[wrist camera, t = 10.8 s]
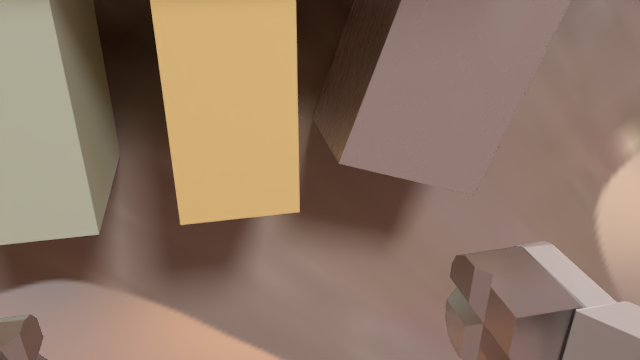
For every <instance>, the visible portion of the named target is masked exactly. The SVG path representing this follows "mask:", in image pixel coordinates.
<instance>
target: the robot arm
mask: <svg viewBox="0 0 640 360" xmlns="http://www.w3.org/2000/svg"><path fill="white" fill-rule="evenodd" d="M450 278H451V279H452V281H453V282H454V283H455V285H456V286H457V288H456V289H455V290H454V291H453V292H452V294H451V295H450V296H449V297H448V299H447V302H446V312H445V319H446V325H447V331H448V335H449V338H450V340H451V343H452V345H453V347H454V349H455V350H456V352H457V354H458V355H459V357H460V358H461V359H463V360H640V306H637V305H634V304H632V303H630V302H627V301H624V302H618V303H617V302H616V301H615V300H614V299H612V298H611V297H610V296H609V295H608V294H607V293H606V292H605V291H604V290H602V289H601V288H600V287H599V286H598V285H597V284H596V283H595V282H594V281H593V280H591V279H590V278H589V277H588V276H587V275H586V274H585V273H584V272H583V271H581V270H580V269H579V268H578V267H577V266H576V265H575V264H574V263H573V262H571V261H570V260H569V259H568V258H567V257H566V256H565V255H564V254H563V253H561V252H560V251H559V250H558V249H557V248H556V247H555V246H554V245H553V244H550V243H547V242H545V241H540V242H534V243H528V244H522V245H516V246H514V247H510V248H503V249H496V250H489V251H482V252H476V253H469V254H462V255H456V257H455V259H454V261H453V263H452V266H451V273H450ZM42 340H43V335H42V332H41V329H40V326H39V323H38V320H37V318H35V317H34V316H32V315H31V314H30V315H22V316H13V317H5V318H0V360H47V359H46V358H44V357H43V356H41V355H39V350H40V347H41V343H42Z"/></svg>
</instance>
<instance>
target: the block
mask: <svg viewBox="0 0 640 360" xmlns="http://www.w3.org/2000/svg"><path fill="white" fill-rule="evenodd" d="M570 1H571V0H354V1H353V4H352V7H351V10H350V13H349V16H348V18H347V21H346V24H345V27H344V30H343V33H342V36H341V38H340V41H339V44H338V47H337V50H336V53H335V56H334V58H333V61H332V64H331V67H330V70H329V73H328V76H327V78H326V81H325V84H324V87H323V90H322V93H321V96H320V98H319V101H318V104H317V107H316V110H315V113H314V116H313V120H314V122H315V123H316V125H317V127H318V129H319V130H320V132H321V134H322V136H323V137H324V139H325V141H326V142H327V144H328V146H329V148H330V149H331V151H332V153H333V155H334V156H335V158H336V160H337V162H338V163H339V164H342V165H346V166H351V167H355V168H359V169H363V170H368V171H372V172H376V173H380V174H385V175H389V176H393V177H397V178H402V179H406V180H410V181H414V182H418V183H423V184H427V185H431V186H435V187H440V188H444V189H448V190H452V191H457V192H461V193H465V194H469V195H474V194H475V192H476V190H477V188H478V186H479V184H480V182H481V180H482V178H483V176H484V174H485V172H486V170H487V168H488V166H489V164H490V162H491V160H492V158H493V156H494V154H495V152H496V150H497V148H498V146H499V144H500V142H501V140H502V138H503V136H504V134H505V132H506V130H507V128H508V126H509V124H510V122H511V120H512V118H513V116H514V114H515V112H516V110H517V108H518V106H519V104H520V102H521V100H522V98H523V96H524V94H525V92H526V90H527V88H528V86H529V84H530V82H531V79H532V77H533V75H534V73H535V71H536V69H537V67H538V65H539V63H540V61H541V59H542V57H543V55H544V53H545V51H546V49H547V47H548V45H549V43H550V41H551V39H552V37H553V35H554V33H555V31H556V29H557V27H558V25H559V23H560V21H561V19H562V17H563V15H564V13H565V11H566V9H567V7H568V5H569V3H570Z"/></svg>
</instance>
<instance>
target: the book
mask: <svg viewBox="0 0 640 360" xmlns="http://www.w3.org/2000/svg"><path fill="white" fill-rule="evenodd" d="M150 4H151V11H152V19H153V26H154V34H155V41H156V48H157V56H158V63H159V70H160V78H161V85H162V93H163V100H164V107H165V115H166V122H167V130H168V137H169V144H170V152H171V159H172V167H173V174H174V181H175V189H176V196H177V204H178V211H179V218H180V225H186V224H195V223H204V222H214V221H223V220H232V219H241V218H250V217H260V216H269V215H278V214H287V213H296V212H300V195H299V137H298V80H297V23H296V0H150Z"/></svg>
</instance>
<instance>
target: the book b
mask: <svg viewBox="0 0 640 360" xmlns="http://www.w3.org/2000/svg"><path fill="white" fill-rule="evenodd" d="M119 157H120V149H119V143H118V138H117V132H116V126H115V121H114V115H113V110H112V104H111V98H110V93H109V87H108V81H107V76H106V70H105V65H104V59H103V53H102V48H101V42H100V37H99V31H98V25H97V20H96V14H95V8H94V3H93V0H0V245H6V244H15V243H25V242H34V241H43V240H53V239H62V238H71V237H81V236H90V235H99V233H100V229H101V225H102V222H103V218H104V214H105V210H106V206H107V203H108V199H109V195H110V191H111V187H112V184H113V180H114V176H115V172H116V168H117V164H118V161H119Z"/></svg>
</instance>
